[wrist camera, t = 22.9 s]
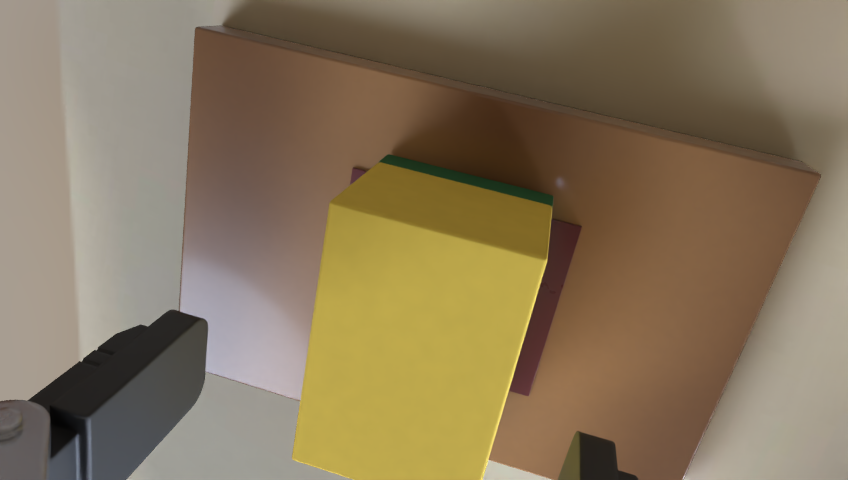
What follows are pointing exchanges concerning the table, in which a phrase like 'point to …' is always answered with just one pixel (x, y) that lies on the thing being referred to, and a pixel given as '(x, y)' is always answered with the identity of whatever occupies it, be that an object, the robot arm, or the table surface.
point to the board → (508, 163)
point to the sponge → (418, 321)
